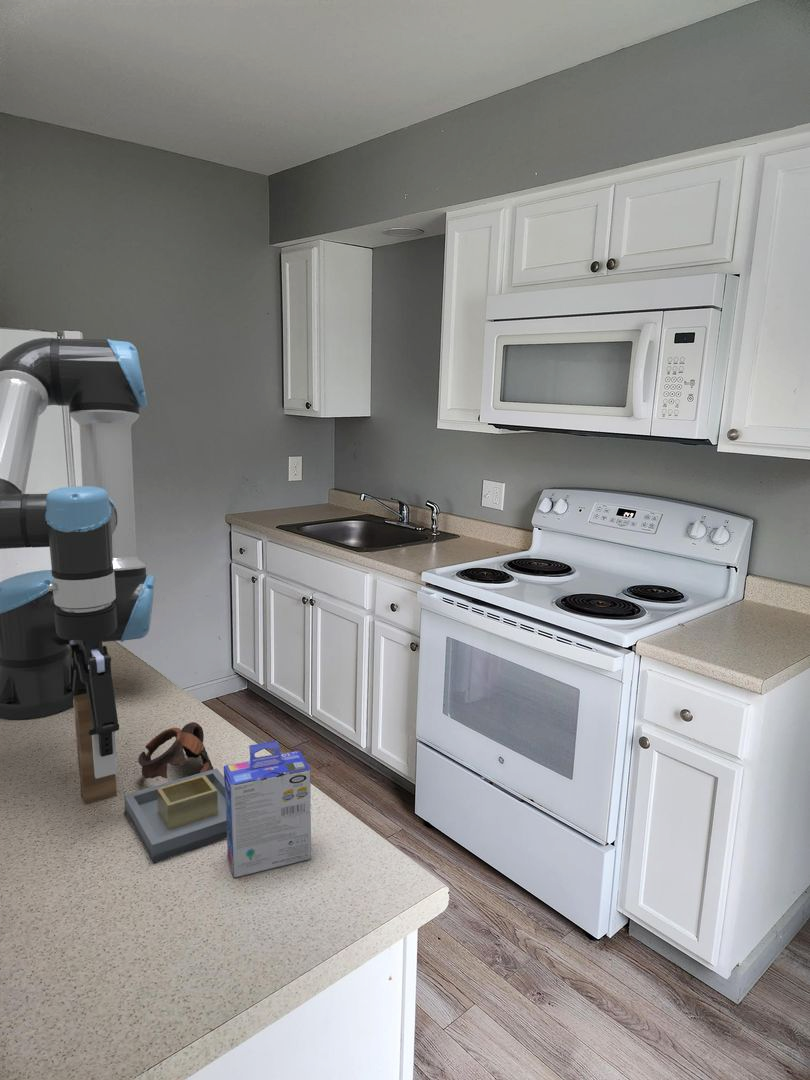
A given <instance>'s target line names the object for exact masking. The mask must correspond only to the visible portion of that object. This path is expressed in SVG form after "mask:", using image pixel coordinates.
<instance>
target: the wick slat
mask: <svg viewBox="0 0 810 1080" xmlns="http://www.w3.org/2000/svg"><path fill="white" fill-rule="evenodd" d="M73 698H74V705H73V713H74V712H75V717H74V726H75V725H76V730H75V739H76V738H77V742H76V749H77V750H76V751H77V764H78V773H79V775H78V776H79V787H80V788H79V789H80V797H81V799H82V801H83V804H84V805H89V804H91V803H92V804H93V803H96V802H99V801H102V800H106V799H109V798H112V797H116V796H118V795H117V794H118V793H117V779H116V777H117V776H116V774H112V775H108V776H105V777H101V778H97V779H96V778H95V774H94V760H93V745H92V735H90V736H89V735H88V731H89V730H93V722H92V717H91V711H90V706H89V700H88V695H87V693H86V694H81V695H76V696H73Z"/></svg>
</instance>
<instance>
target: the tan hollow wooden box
mask: <svg viewBox="0 0 810 1080" xmlns="http://www.w3.org/2000/svg"><path fill="white" fill-rule="evenodd" d="M157 805H158V813H159V815H160V816H161V818H162V820H163V821H164V823H165V824H166V826H167V828H168V829H169V830H172V829H175V828H178V827H181V826H184V825H187V824H190V823H193V822H196V821H200V820H203V819H206V818H209V817H212V816H215V815H218V795H217V790H216V788H215V787H214V786H213V785H212V783H211V782H210V781H209V780H208V778H207V777H206V776H205V775H201V776H198V777H194V778H191V779H188V780H184V781H181V782H177V783H174V784H170V785H167V786H163V787H160V788H157Z"/></svg>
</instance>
